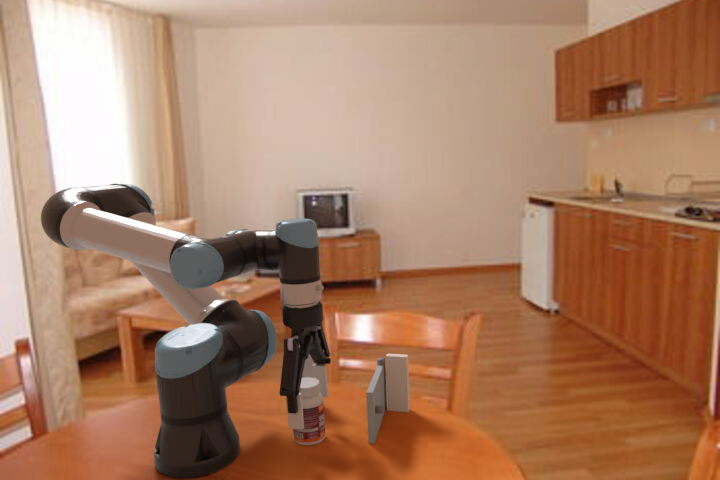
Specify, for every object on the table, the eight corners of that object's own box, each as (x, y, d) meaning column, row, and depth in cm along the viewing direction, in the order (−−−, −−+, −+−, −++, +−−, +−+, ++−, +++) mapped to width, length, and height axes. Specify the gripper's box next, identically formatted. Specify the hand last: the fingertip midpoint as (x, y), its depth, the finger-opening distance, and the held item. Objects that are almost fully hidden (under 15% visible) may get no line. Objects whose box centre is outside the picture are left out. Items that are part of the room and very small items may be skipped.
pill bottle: (327, 443, 106) (324, 386, 104) (294, 448, 105) (291, 390, 103) (323, 428, 112) (320, 374, 110) (291, 433, 111) (288, 378, 109)
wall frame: (299, 403, 124) (296, 350, 122) (301, 400, 126) (298, 348, 124) (408, 412, 118) (406, 357, 116) (409, 409, 119) (408, 354, 117)
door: (379, 406, 121) (377, 357, 119) (391, 407, 120) (390, 357, 119) (366, 442, 106) (364, 387, 104) (381, 443, 105) (379, 387, 104)
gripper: (295, 323, 92) (304, 445, 95) (341, 287, 115) (347, 386, 118) (253, 321, 94) (263, 441, 97) (306, 286, 117) (313, 383, 120)
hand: (309, 411), depth 107 cm, fingers open, 13 cm apart
